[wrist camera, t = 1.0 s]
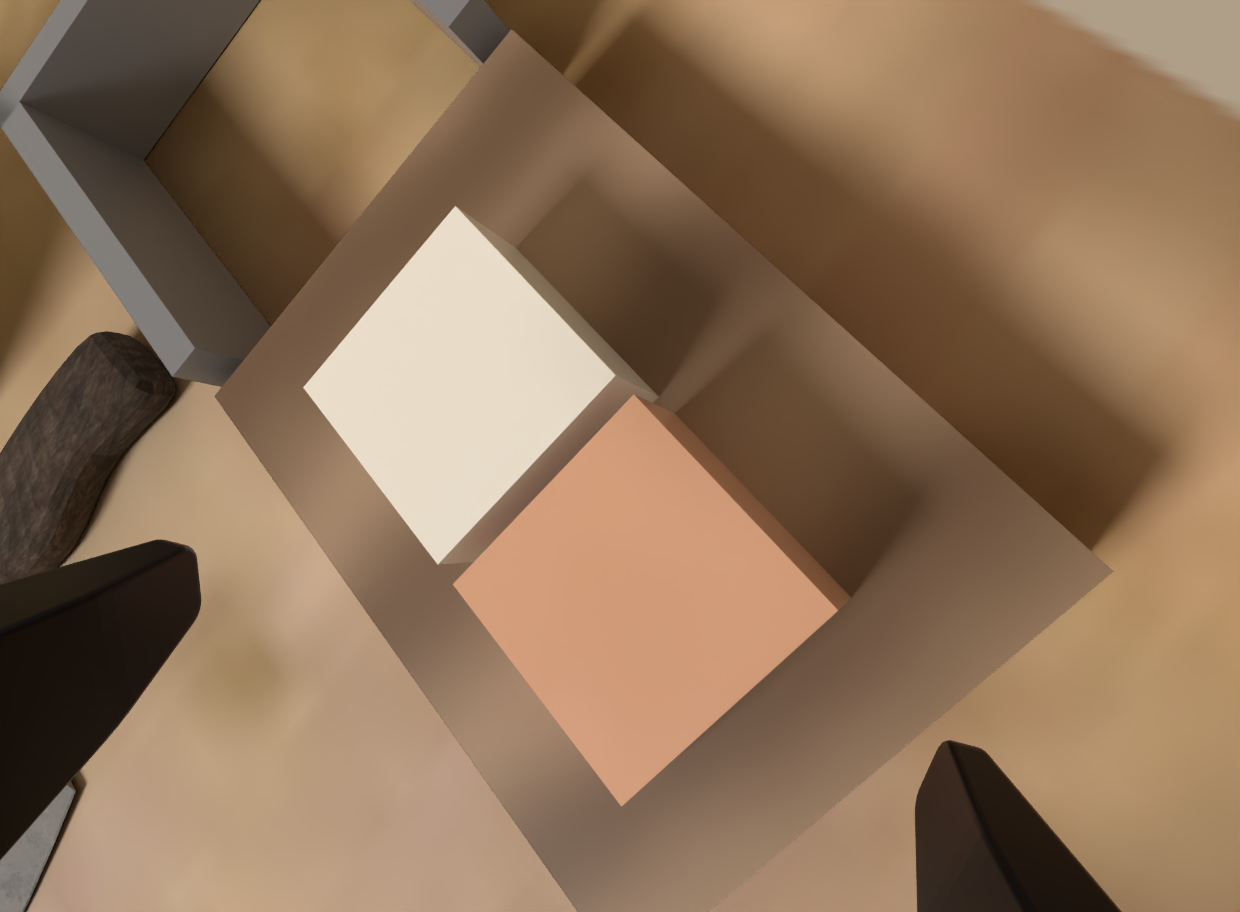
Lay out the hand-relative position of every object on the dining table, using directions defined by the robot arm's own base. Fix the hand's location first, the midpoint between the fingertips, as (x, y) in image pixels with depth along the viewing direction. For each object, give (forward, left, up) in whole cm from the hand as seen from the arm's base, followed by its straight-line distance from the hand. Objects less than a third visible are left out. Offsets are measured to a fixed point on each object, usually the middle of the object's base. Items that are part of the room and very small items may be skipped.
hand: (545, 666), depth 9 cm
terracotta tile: (+1, 0, -7) cm, 7 cm away
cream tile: (+6, 0, -7) cm, 9 cm away
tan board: (+4, 0, -10) cm, 11 cm away
